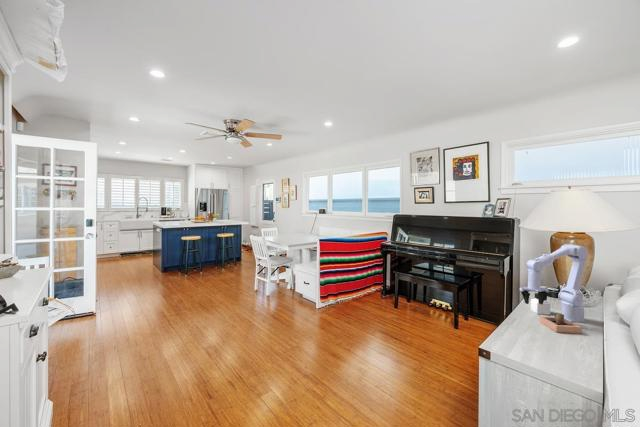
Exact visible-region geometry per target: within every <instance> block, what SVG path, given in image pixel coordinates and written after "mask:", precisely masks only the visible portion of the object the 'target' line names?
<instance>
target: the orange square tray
mask: <svg viewBox="0 0 640 427" xmlns="http://www.w3.org/2000/svg"><path fill="white" fill-rule="evenodd" d="M539 323H540V324H541V325H543V326H545V327H546V328H548V329H550V330H551V331H553V332H554V333H558V334H576V335H577V334H579V335H581V334H582V326H580V325H578V324H576V323H575V322H570V321H568V320H567V319H565V318H564V325H557V324H556V316H540V317H539Z"/></svg>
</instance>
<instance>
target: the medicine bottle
mask: <svg viewBox="0 0 640 427" xmlns="http://www.w3.org/2000/svg"><path fill="white" fill-rule="evenodd" d="M530 311H532V312H534V313H535V314H537V315H544V316H545V315H546V316H547V315H548V316H549V315H550V316H551V303H550V302H549V301H548V296H547V297H546V298H545V299H544V302H543V304H542V305H541V304H539V297H538V292H534V298H531V299H530Z"/></svg>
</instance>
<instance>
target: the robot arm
mask: <svg viewBox="0 0 640 427" xmlns="http://www.w3.org/2000/svg"><path fill="white" fill-rule="evenodd" d="M588 255H589V250H588V249H587V247H586V246H585V245H584V246H583V245H577V244H571V243H565V244H563V245H561V246H560V248H558V249H557V250H555V251H553V252H551V253H550V254H548V253H543V254H542V255H541V256H539V257H535V258H534V259H529V260H527V261H526V264H525V266H526V268H527V271H528V273H527V275H528V276H527V279H528V280H527V286H523V287H522V286H520V287H519V291H520V293H521V295H522V298H523V300H524V304H527V305H529V301H530V296H531V292H534V293H538V297H539V304H541V305H542V304H543V302H544V299H545V298H546V297H547V298H548V296H549V290H550V289H549V288H548V287H547V288H546V287H542V286H541V282H542V280H541V278H542V271H544V269H545V267H547V266H549V265H551V264H553V263H554V262H555V260H556V259H560V258H561V257H565V256H567V257H569V258H570V259H571V260H572V264H571V268H570V272H569V275H568V277H567V278H568V279H567V283H566V285H565V286H563V287H562V288H560V291H559V293H558V296H557V297H558V299H559V300H560V303H561V313H560V314H563V315H564V318H565V319H567V320H568V321H570V322H572V323H576V322H577V323H586V321H585V308H584V306H582V304H583V302H584V299H583V298H584V294H583V293H582V292H581V291H580V287H581V284H582V279H583V276H584V272H585V269H586V265H587V261H588V260H587V259H588Z"/></svg>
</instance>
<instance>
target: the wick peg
mask: <svg viewBox="0 0 640 427" xmlns="http://www.w3.org/2000/svg"><path fill="white" fill-rule="evenodd" d="M555 317H556V324H557V325H564V315H563V314H561V313H559V312H558V313H555Z"/></svg>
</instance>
